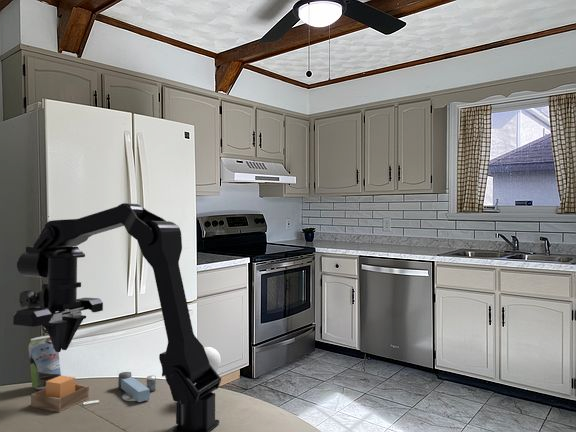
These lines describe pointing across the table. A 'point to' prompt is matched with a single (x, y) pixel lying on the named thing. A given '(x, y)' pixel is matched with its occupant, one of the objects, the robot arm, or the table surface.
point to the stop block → (60, 386)
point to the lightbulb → (213, 357)
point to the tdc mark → (91, 402)
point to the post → (151, 383)
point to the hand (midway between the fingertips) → (61, 350)
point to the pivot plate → (127, 397)
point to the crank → (133, 387)
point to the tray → (59, 399)
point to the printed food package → (43, 361)
